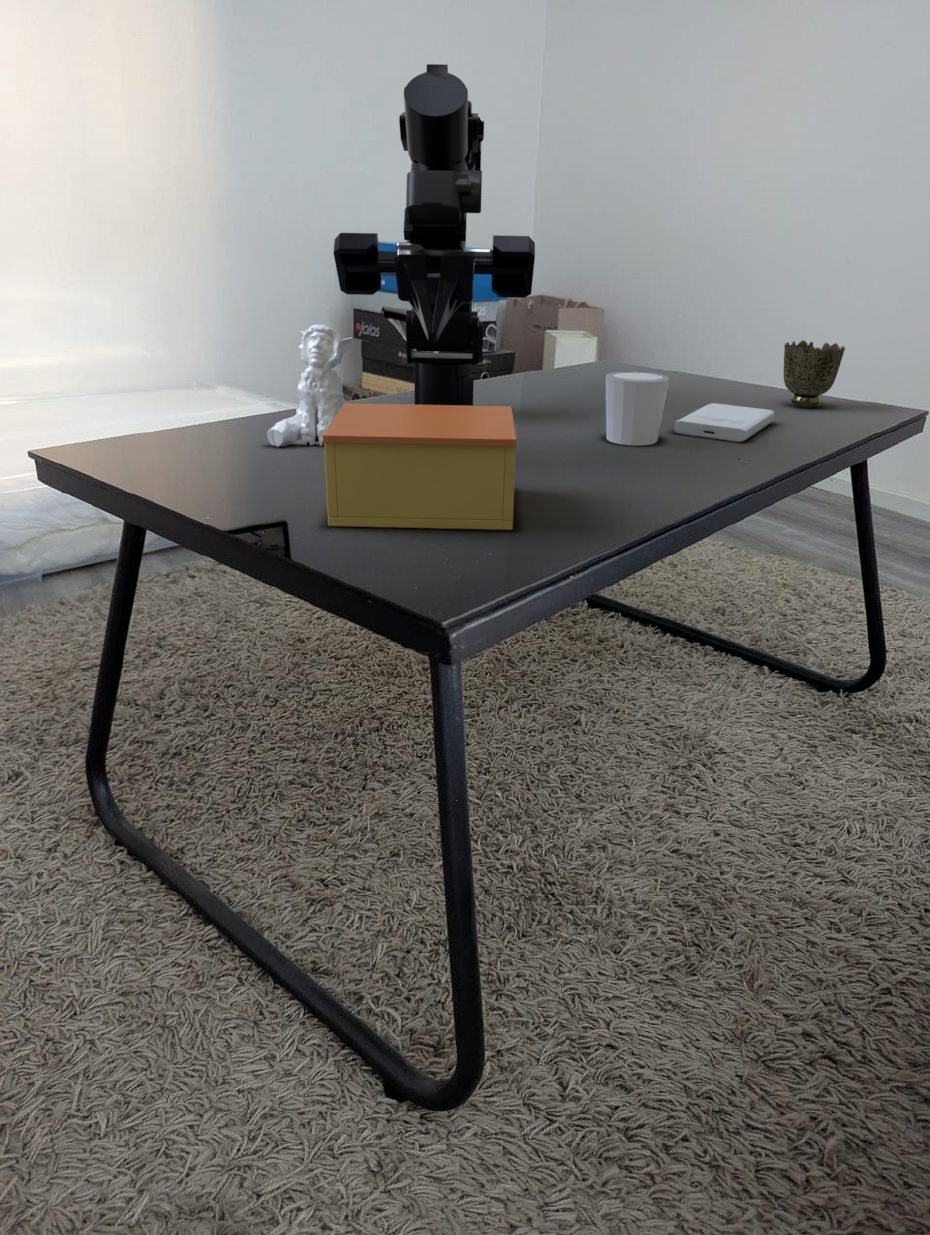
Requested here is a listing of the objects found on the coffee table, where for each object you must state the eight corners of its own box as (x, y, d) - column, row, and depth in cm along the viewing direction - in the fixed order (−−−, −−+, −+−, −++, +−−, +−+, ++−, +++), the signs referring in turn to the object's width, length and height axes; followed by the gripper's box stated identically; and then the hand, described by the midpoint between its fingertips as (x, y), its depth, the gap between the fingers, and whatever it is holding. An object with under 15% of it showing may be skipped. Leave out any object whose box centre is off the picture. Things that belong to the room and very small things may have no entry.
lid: (516, 447, 67) (516, 439, 67) (322, 443, 68) (322, 435, 67) (511, 413, 79) (511, 406, 78) (344, 409, 79) (344, 403, 78)
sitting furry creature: (265, 447, 94) (256, 327, 89) (290, 429, 102) (283, 318, 97) (354, 451, 93) (350, 331, 88) (371, 433, 101) (369, 321, 96)
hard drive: (773, 423, 109) (744, 443, 100) (707, 415, 113) (673, 433, 103) (775, 410, 109) (746, 428, 99) (708, 402, 112) (674, 418, 103)
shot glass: (662, 448, 96) (670, 382, 94) (598, 444, 98) (603, 379, 95) (663, 434, 103) (669, 372, 100) (602, 431, 104) (607, 369, 101)
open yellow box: (512, 530, 71) (516, 445, 68) (327, 526, 71) (323, 441, 68) (508, 489, 81) (511, 413, 79) (347, 485, 81) (344, 410, 79)
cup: (839, 405, 121) (851, 343, 118) (827, 414, 115) (839, 349, 112) (783, 398, 124) (793, 338, 121) (768, 407, 119) (778, 344, 115)
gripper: (331, 135, 81) (317, 275, 75) (539, 138, 81) (540, 279, 75) (346, 228, 91) (335, 356, 86) (530, 231, 91) (530, 360, 86)
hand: (432, 338), depth 83 cm, fingers closed
